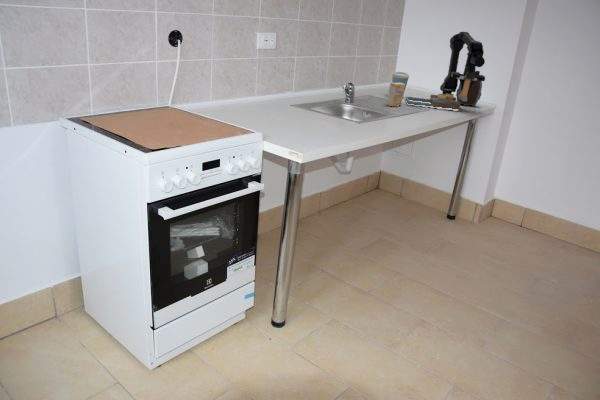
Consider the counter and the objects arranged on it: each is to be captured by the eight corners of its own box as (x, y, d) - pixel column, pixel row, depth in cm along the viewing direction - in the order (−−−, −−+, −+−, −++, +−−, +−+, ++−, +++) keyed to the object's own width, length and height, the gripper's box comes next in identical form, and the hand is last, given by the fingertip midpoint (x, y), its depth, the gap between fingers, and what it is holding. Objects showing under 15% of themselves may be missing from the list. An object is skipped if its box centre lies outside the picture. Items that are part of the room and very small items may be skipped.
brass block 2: (444, 99, 300) (446, 93, 298) (451, 100, 300) (452, 93, 298) (445, 101, 296) (447, 94, 295) (452, 101, 296) (454, 95, 294)
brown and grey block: (458, 97, 300) (463, 77, 295) (463, 98, 299) (468, 78, 295) (461, 100, 290) (466, 80, 286) (466, 101, 290) (471, 81, 285)
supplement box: (392, 107, 283) (396, 84, 278) (386, 105, 287) (390, 82, 281) (401, 106, 288) (405, 83, 283) (395, 104, 292) (399, 82, 286)
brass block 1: (436, 100, 296) (438, 93, 294) (443, 100, 296) (444, 94, 294) (437, 101, 292) (439, 94, 291) (444, 102, 292) (446, 95, 290)
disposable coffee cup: (406, 99, 308) (411, 75, 302) (389, 97, 308) (393, 73, 302) (403, 96, 318) (408, 72, 312) (387, 94, 318) (391, 70, 312)
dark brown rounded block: (454, 104, 310) (461, 72, 302) (453, 101, 318) (460, 70, 310) (478, 108, 307) (486, 75, 299) (477, 105, 315) (485, 73, 307)
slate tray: (405, 100, 305) (406, 96, 304) (431, 103, 304) (432, 99, 303) (407, 105, 292) (408, 101, 291) (434, 108, 292) (435, 104, 291)
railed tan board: (429, 103, 305) (431, 94, 303) (453, 106, 304) (455, 97, 302) (432, 108, 291) (434, 99, 289) (458, 111, 291) (460, 102, 288)
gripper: (457, 64, 280) (451, 91, 286) (490, 68, 279) (483, 95, 285) (453, 61, 290) (447, 88, 296) (485, 65, 289) (479, 92, 295)
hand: (464, 91), depth 293 cm, fingers closed on brown and grey block, 3 cm apart
